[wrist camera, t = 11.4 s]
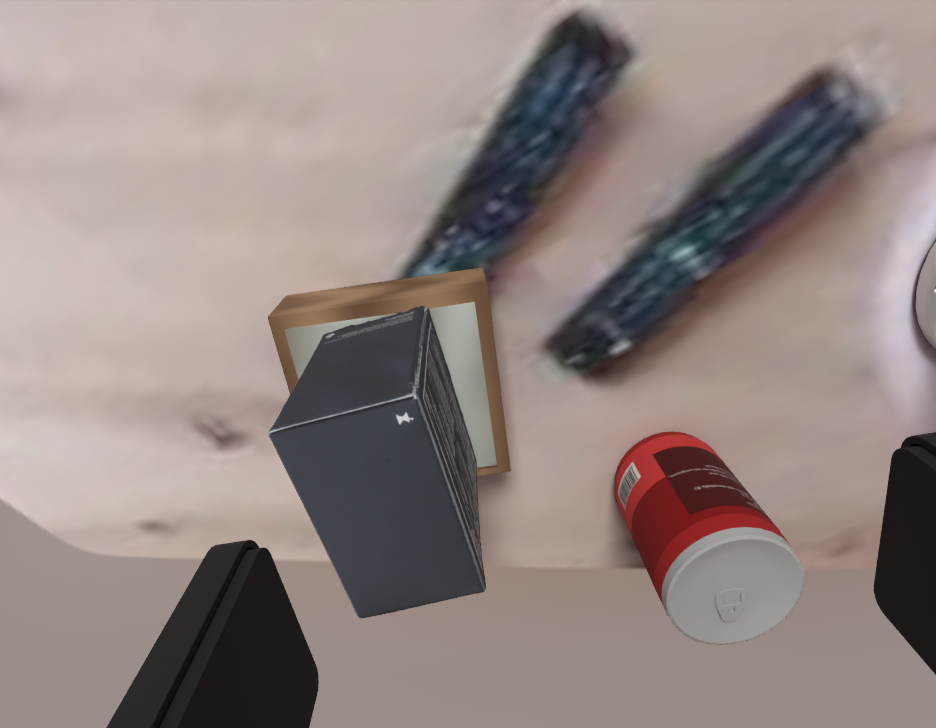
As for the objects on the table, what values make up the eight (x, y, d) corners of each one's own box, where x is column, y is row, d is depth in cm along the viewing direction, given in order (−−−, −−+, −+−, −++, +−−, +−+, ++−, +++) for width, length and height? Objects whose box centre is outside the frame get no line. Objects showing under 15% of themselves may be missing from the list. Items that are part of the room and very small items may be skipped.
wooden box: (482, 267, 34) (487, 287, 30) (504, 437, 39) (511, 474, 35) (286, 295, 34) (265, 319, 31) (331, 461, 39) (319, 500, 35)
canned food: (631, 534, 43) (688, 663, 33) (594, 454, 40) (645, 568, 30) (729, 496, 42) (819, 617, 32) (699, 411, 39) (789, 514, 29)
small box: (313, 333, 31) (255, 431, 21) (428, 301, 30) (421, 386, 21) (377, 487, 35) (353, 627, 26) (479, 461, 35) (493, 594, 25)
